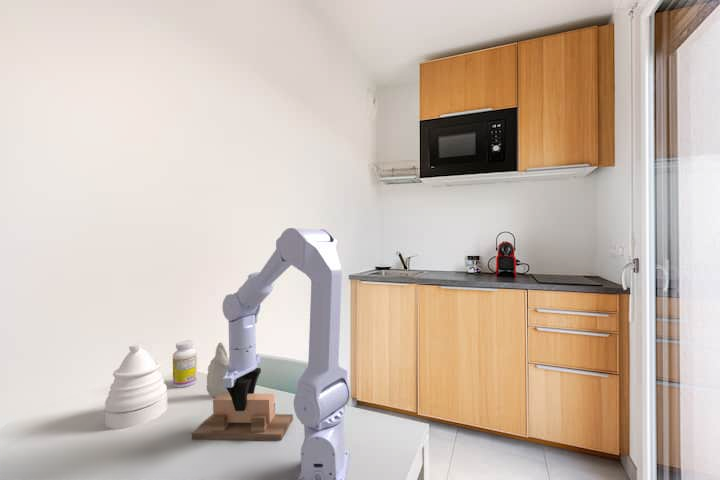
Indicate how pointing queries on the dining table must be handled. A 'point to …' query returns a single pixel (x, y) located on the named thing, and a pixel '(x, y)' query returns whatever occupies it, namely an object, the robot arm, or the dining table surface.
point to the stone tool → (217, 372)
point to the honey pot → (136, 391)
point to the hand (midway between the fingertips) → (243, 406)
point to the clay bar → (254, 406)
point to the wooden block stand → (244, 428)
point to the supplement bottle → (184, 364)
